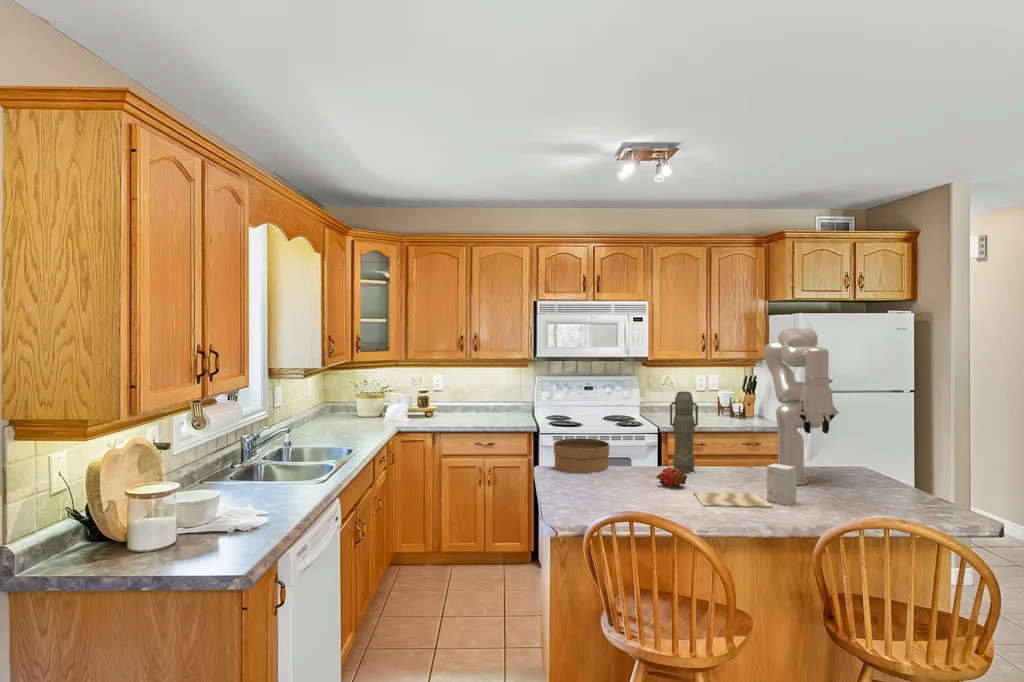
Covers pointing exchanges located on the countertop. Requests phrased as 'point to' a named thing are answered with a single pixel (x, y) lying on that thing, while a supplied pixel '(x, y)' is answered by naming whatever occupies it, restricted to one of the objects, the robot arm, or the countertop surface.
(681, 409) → the thermos
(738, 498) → the maple board
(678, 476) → the dragon fruit
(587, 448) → the steamer basket
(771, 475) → the small box
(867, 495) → the countertop surface
